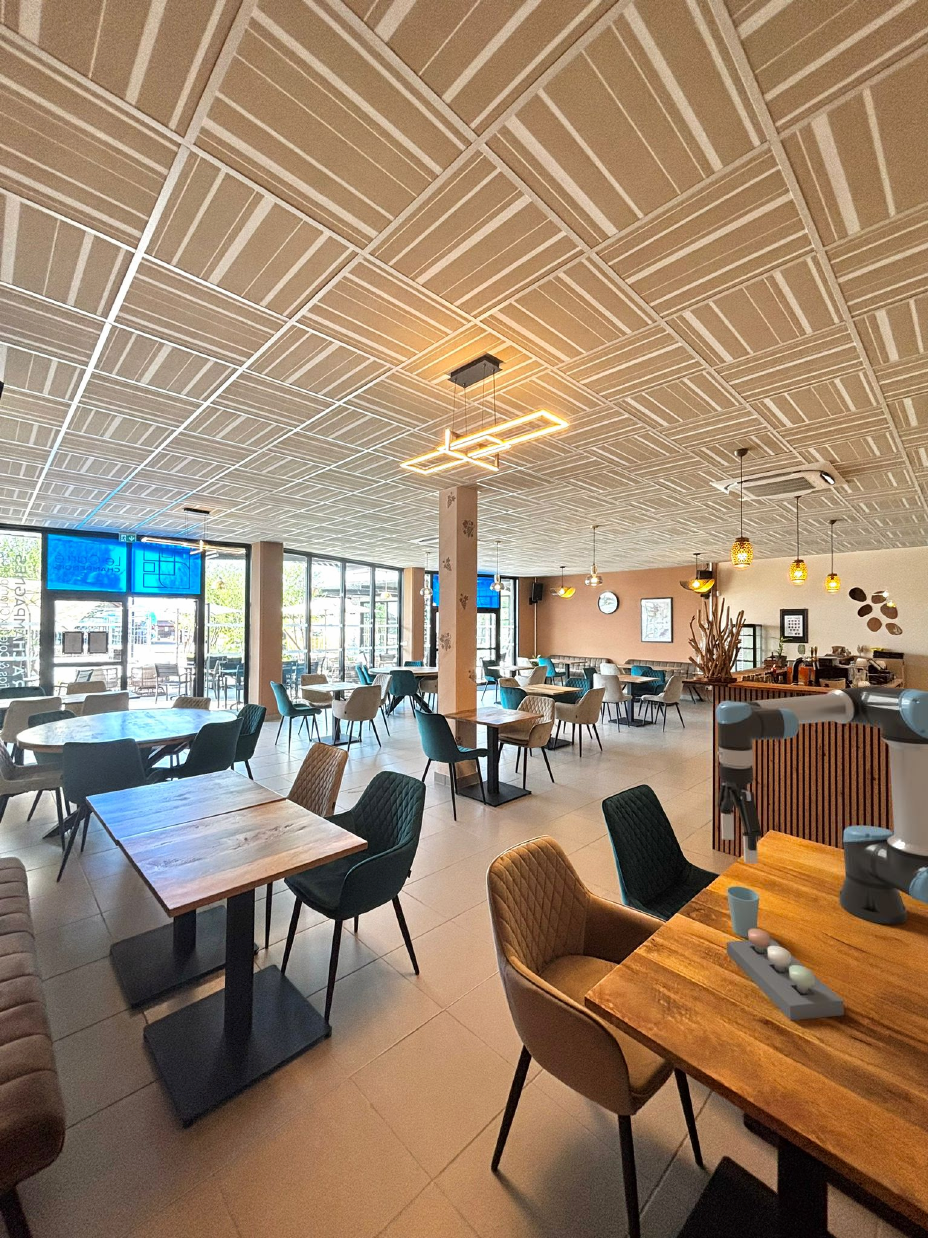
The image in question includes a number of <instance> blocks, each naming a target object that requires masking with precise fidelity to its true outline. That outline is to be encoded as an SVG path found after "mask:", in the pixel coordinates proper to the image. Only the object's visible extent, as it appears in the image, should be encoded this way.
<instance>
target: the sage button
mask: <svg viewBox="0 0 928 1238" xmlns="http://www.w3.org/2000/svg"><path fill="white" fill-rule="evenodd" d="M803 966H804V965H803ZM803 966H799V965H792V966H790V967H789V976H790V980H791V981H792V982H793V983H795V984H796V985H797V990H798V991H799V992H800V993H802V994H808V988H812V987H814V986H815V977H814V975H815V974H814V972H813V971H812V970H811V969H809V968H807V967H805V966H804V967H803Z"/></svg>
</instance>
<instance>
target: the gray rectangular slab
mask: <svg viewBox="0 0 928 1238" xmlns="http://www.w3.org/2000/svg"><path fill="white" fill-rule="evenodd" d="M770 946H779V947H782V945H780V944H779V943H778V942H777V941H776V940H775V939H774V938H772V937H770ZM770 946H769V947H770ZM726 954H727V956H728V957H729V958H730V959H731V960H732V961H733V962H734V963H735V964H736V965H737V966H738V967H739V968H740V969H741V970H742V971H743V972H744V974H746V976H748V977H749V978H750V980H751V981H753V983H754V984H755V985H756V986H757V987H758V988H759V989H760V990H761V991H762V992H763V993H764V994H765V995H766V997H767V998H768V999H769V1000H770V1001H771V1002H773V1004H774V1005H775V1006H776V1007H777V1008H778V1009H779V1010H780V1011H781V1012H782V1013H783V1015H784V1016H786V1017H787V1019H788V1020H790V1021H799V1020H806V1019H807V1020H809V1019H817V1018H827V1017H837V1016H845V1009H844V1008H845V1007H844V1006H845V1005H844V1000H843V999H842V998H841V997H840V996H839V995H838V994H836V993H835V992H834V991H833V990H832V989H831V988H830V987H828V986H827V985H826V984H825V983H824V982H823V981H822V980H821V979H819V978H818V977H817V976H816V975H815V974H814V977H815V986H814V987H812V988H808V994H802V993H800V992H799V991H798V990H797V985H796V984H795V983H793V982H792V981H791V980H790V976H789V967H790V966H792V965H799V966H803V967H805V966H804V965H803V964H802V963H801V962H800V961H798V959H796V958H795V957H794V956H793V955H792V954H791V965H790V966H785V972H778V971H777V970H775V964H774V963H772V962H771V961H770V960H769V959H768V947H764V953H758V952H757V951H755V945H754V944H752V943H751V942H750V941H749V939H746V940H745V939H744V940H733V941H726Z"/></svg>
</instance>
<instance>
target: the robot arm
mask: <svg viewBox="0 0 928 1238" xmlns="http://www.w3.org/2000/svg"><path fill="white" fill-rule="evenodd" d="M715 717H716V722H717V736H718V737H717V738H718V740H717V742H718V751H716V755H718V760H719V763H720V764H719V765H718V770H719V771H718V772H719V779H720V787H719V788H720V789H719V793H718V799H717V803H716V806H717V808H719V811H720V813H721V815H720V817H721V818H720V819H721V821H720V823H721V840H728V841H729V840H731V841H734V840H735V835H734V834H735V832H734V831H735V830H734V827H735V826H734V813H735V812H734V808H736V809H737V811H738V813H739V814H738V815H739V818H740V820H741V824H742V827H743V831H744V832H742V833H741V835H742V836H743V838H742V839H743V858H744V859H743V861H744V863H745V864H758V863H759V859H758V856H759V855H758V837H762V836H763V835H762V834H763V833H762V830H761V824H760V820H759V817H758V816H759V815H758V811H757V807H756V803H755V794H754V793H755V792H754V791H748V787H747V786H748V785H750V784H752V783H753V782H754V768H753V767H752V766H753V765H754V755H753V754H754V753H753V752H754V750H753V741H762V740H763V741H764V740H781V741H782V740H785V739H791V738H794V737H796V735H797V734H798V733H799V729H800V727H799V725H801V724H813V723H825V722H836V723H838V724H857V725H863V726H868V727H873V728H877V729H880V734H881V736H880V737H881V740H882V741H884V742H885V743H886V744H887V745H888V747H889V748H888V749H889V764H890V765H889V767H890V783H891V784H890V785H891V800H892V801H891V802H892V815H893V817H892V818H893V819H892V820H893V831H892V830H889V829H888V828H883V827H879V826H872V825H871V826H870V825H850V826H847V827H846V828H845V829H844V830H843V840H842V843H843V855H844V856H843V858H844V870H845V871H844V872H845V874H844V875H845V876H844V877H845V878H844V880H843V882H842V883H843V884H842V886H841V887H842V888H841V890H840V891H839V895H838V901H839V905H840V906H841V907H842V909H844V910H845V911H847V912H848V913H850V914H852V915H853V916H856V917H858V918H860V919H863V920H866V921H870V922H873V923H876V924H877V923H879V924H882V925H901V924H904V923H905V922H907V920H908V912H907V908H906V906H905V904H904V901H903V898H902V896H901V894H900V892H902V893H903V894H905V895H907V896H909V897H911V898H912V900H916V901H919V902H921V903H924V904H926V905H928V691H924V690H919V689H917V688H915V689H914V688H907V687H906V688H903V687H892V686H883V685H865V686H856V687H847V688H841V689H833V690H830V691H829V692H827V693H826V694H814V695H813V694H812V695H803V696H793V697H783V698H771V699H761V700H760V699H759V700H750V701H749V700H748V701H736V700H724V701H721V702H720V703H719V704H718V705H717V706H716V709H715Z"/></svg>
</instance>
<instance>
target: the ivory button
mask: <svg viewBox="0 0 928 1238" xmlns="http://www.w3.org/2000/svg"><path fill="white" fill-rule="evenodd" d="M791 955H792V954H791V952H790V951H789V950H787V949H786V948H784V947H782V946H781V947H779V946H770V947H768V959H769V960H770V961H771V962H772V963H774V964H775V970H777V971H778V972H785V966H790V965H791Z"/></svg>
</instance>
